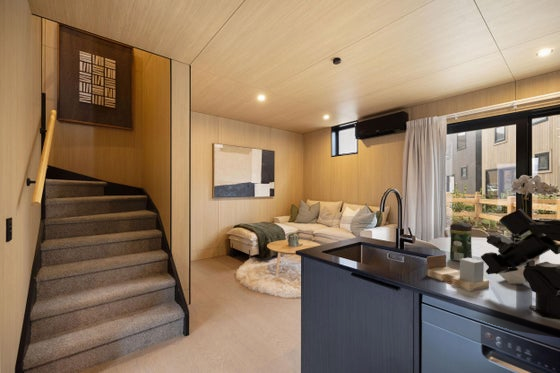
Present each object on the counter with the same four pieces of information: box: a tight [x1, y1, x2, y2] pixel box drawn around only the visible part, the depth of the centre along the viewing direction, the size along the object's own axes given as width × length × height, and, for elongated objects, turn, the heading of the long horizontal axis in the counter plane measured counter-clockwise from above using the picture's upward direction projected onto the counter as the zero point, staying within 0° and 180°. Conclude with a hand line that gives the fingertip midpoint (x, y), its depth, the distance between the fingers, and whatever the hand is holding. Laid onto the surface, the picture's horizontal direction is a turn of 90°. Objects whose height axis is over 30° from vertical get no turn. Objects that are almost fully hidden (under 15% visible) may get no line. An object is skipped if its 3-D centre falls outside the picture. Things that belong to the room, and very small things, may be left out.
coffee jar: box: [449, 221, 473, 263], centre depth 125 cm, size 10×8×19 cm
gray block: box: [459, 258, 485, 283], centre depth 92 cm, size 5×5×7 cm
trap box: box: [426, 254, 490, 292], centre depth 97 cm, size 17×10×8 cm, turn 21°
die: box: [498, 266, 526, 285], centre depth 96 cm, size 8×9×10 cm
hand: (487, 272), depth 87 cm, fingers closed
